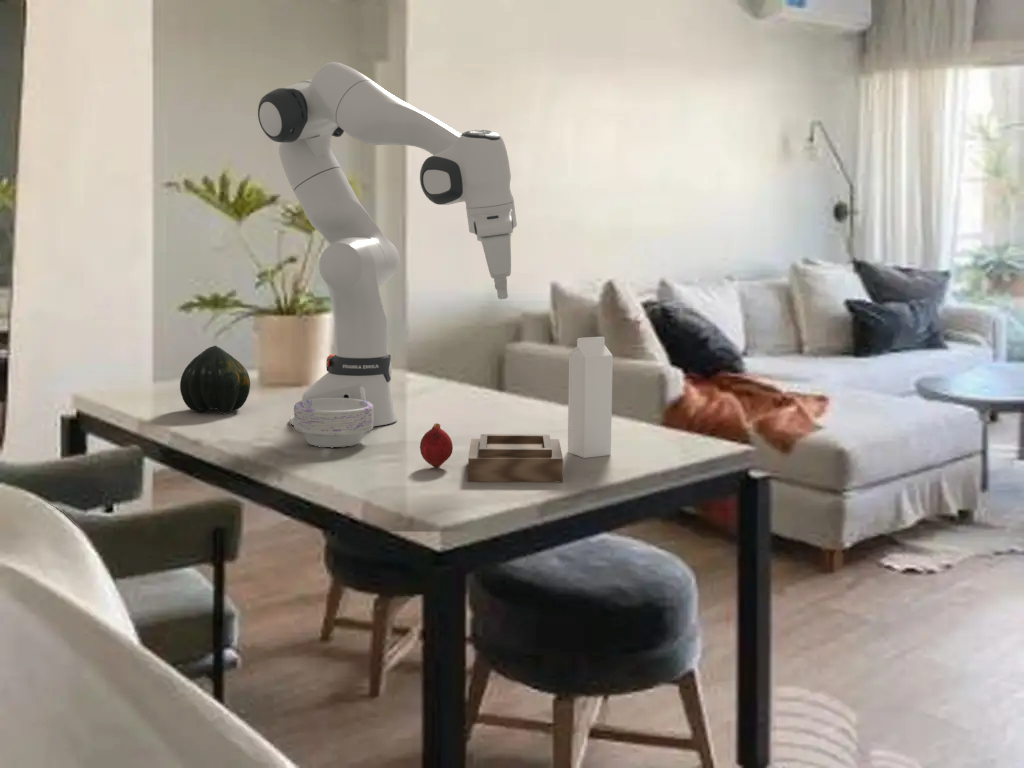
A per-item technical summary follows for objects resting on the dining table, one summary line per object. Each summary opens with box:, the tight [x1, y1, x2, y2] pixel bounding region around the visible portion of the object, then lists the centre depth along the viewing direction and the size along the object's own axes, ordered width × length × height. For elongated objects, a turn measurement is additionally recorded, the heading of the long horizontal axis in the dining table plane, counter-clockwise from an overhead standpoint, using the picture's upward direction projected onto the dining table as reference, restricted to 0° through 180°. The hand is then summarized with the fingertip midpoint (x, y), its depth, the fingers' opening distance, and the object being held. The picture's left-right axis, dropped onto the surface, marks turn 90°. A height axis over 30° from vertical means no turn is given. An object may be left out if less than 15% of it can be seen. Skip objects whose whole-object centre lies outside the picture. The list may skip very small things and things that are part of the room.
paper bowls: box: [293, 398, 374, 448], centre depth 230 cm, size 15×15×8 cm
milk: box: [567, 336, 614, 459], centre depth 222 cm, size 6×6×22 cm
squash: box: [179, 345, 251, 414], centre depth 263 cm, size 14×15×15 cm
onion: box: [419, 422, 454, 469], centre depth 211 cm, size 6×6×8 cm
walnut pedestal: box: [467, 433, 564, 483], centre depth 209 cm, size 16×16×5 cm
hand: (501, 293), depth 221 cm, fingers open, 8 cm apart
